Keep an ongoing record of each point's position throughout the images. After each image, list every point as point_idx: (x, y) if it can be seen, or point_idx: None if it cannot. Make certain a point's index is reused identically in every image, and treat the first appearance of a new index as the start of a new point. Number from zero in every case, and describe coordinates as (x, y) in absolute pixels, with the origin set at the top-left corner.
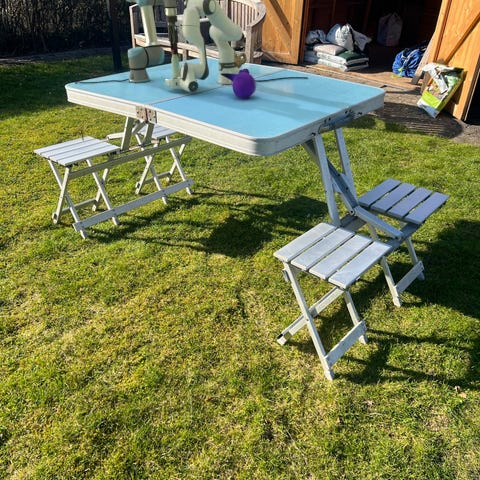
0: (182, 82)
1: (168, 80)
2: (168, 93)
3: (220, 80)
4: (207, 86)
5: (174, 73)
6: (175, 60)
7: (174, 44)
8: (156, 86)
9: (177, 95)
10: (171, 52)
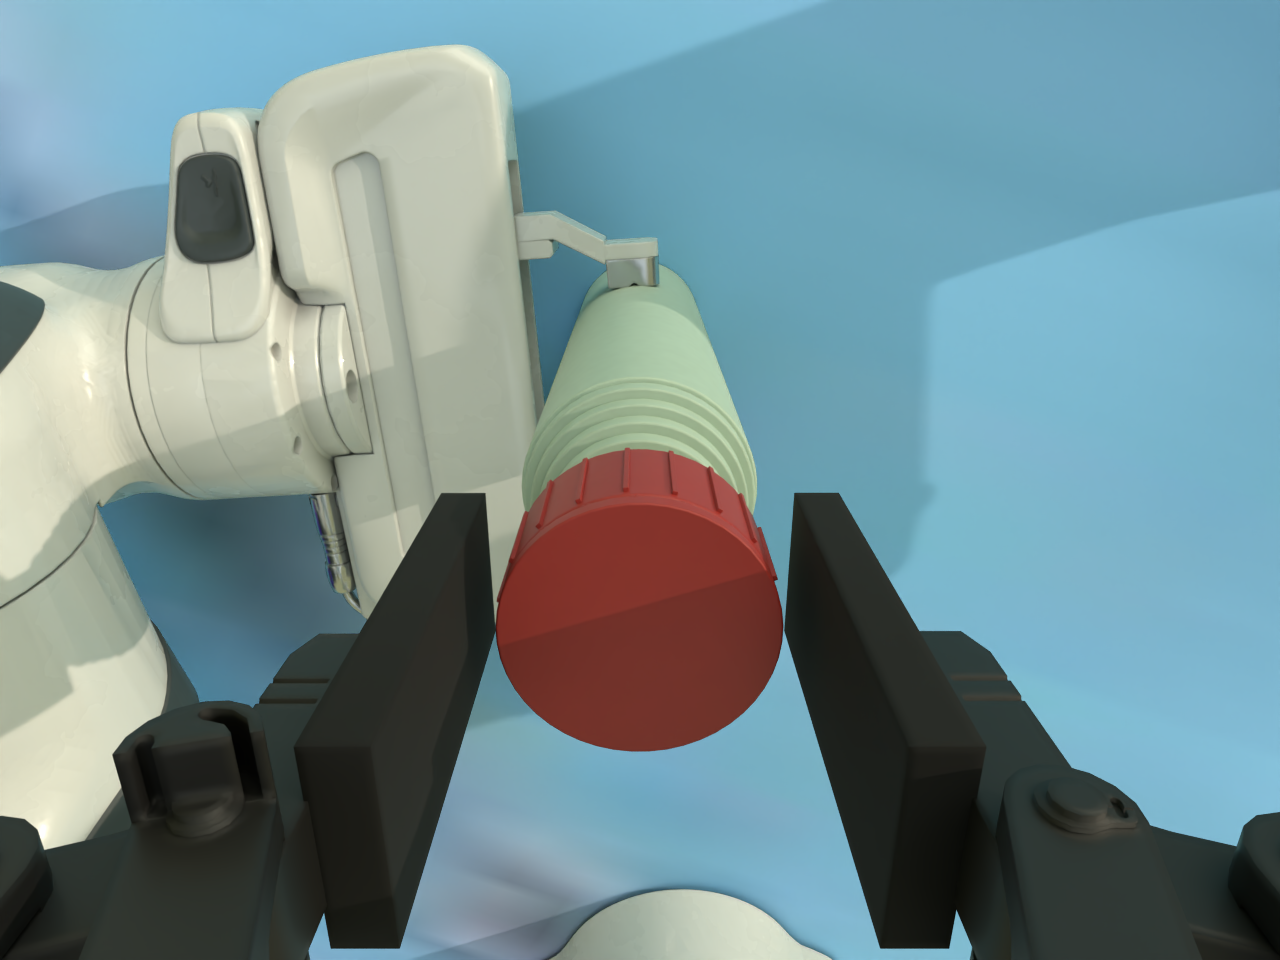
0: (11, 280)
1: (311, 73)
2: (348, 55)
3: (646, 929)
4: None
5: (581, 324)
6: (526, 458)
7: (295, 785)
8: (1034, 34)
9: (139, 150)
10: (626, 468)
